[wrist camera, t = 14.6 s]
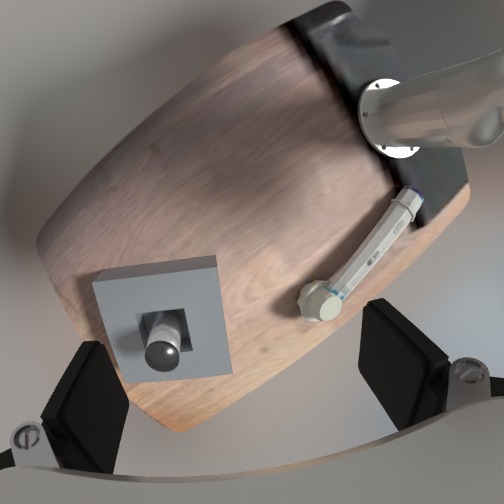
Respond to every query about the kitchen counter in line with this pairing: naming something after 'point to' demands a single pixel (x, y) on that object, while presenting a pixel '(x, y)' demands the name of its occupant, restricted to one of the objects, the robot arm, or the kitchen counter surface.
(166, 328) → the cylinder
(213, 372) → the socket block
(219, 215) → the kitchen counter surface
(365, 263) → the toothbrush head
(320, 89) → the kitchen counter surface
